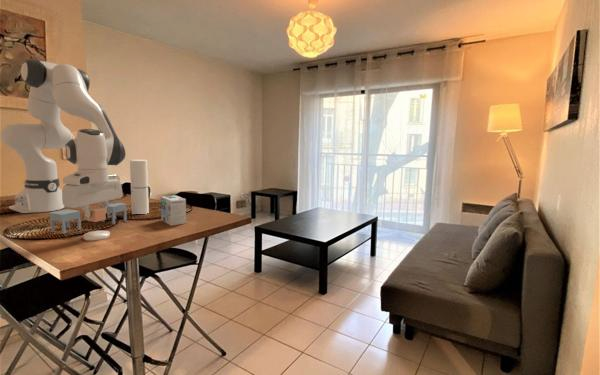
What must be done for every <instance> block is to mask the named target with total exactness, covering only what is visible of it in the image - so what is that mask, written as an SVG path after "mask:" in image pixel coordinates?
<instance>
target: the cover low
mask: <svg viewBox="0 0 600 375" xmlns="http://www.w3.org/2000/svg"><path fill="white" fill-rule="evenodd" d="M74 220H76V221H77V231H78V230H80V229H81V230H82V216H81V211H80V210H75V209H71V208H69V209H68V208H66V209H60V210H55V211H50V212H49V224H50V232H54V233H56V229H55V222H60V223H61V233H62V234H65V233H66V234H67V228H70V229H71V221H74Z"/></svg>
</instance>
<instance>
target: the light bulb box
mask: <svg viewBox="0 0 600 375" xmlns="http://www.w3.org/2000/svg"><path fill="white" fill-rule="evenodd" d="M160 202H161V203H160V204H161V205H160V206H161V208H160V209H161V211H160V212H161V218H160V220H161V221H162V222H164V223H166V224H167V225H169V226H179V225H184V224H187V199H186V198H184V197H181V196H178V195H176V194H173V195H164V196H160Z"/></svg>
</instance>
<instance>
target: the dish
mask: <svg viewBox="0 0 600 375" xmlns="http://www.w3.org/2000/svg"><path fill="white" fill-rule="evenodd" d="M110 236H111V232H110V231H109V230H93V231H92V230H91V231H89V232H86V233H84V234H83V235H82V237H83V240H84V241H87V242H88V241H90V242H91V241H102V240H105V239H108V238H111V237H110Z"/></svg>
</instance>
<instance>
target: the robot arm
mask: <svg viewBox="0 0 600 375" xmlns="http://www.w3.org/2000/svg"><path fill="white" fill-rule="evenodd" d="M20 75H21V78H22V81H23V82H24V84H26V85H27V86H30V88H29V92H28V100H27V104H26V110H27V112H28V113H29V115H30V116H32V117H33V118H35V119H36V120H39V121H40V122H39V123H38V124H37V123H36V124H35V123H13V124H6V125H5V126H4V127H2V129H1V130H0V131H1V132H0V139H1V141H2V142H3V144H4V145H5V146H6V147H8V148H10V149H11V150H13V151H15V152H16V153H17V154H18V156H20V158H21V159H22V162H23V164H24V168H25V174H26V179H25V181H23V184H24V188H23V189H22V190H21V191H20V192H19V193H17V194H16V195H15V197H14V202H15V203H14V204H13V205H9V206H8V209H9V210H11V211H15V212H18V213H21V214H29V213H45V212H46V213H47V212H56V211H60V210H64V208H67V209H68V208H69V209H75V208H79V207H80V208H81V210H82V211H83V212H84V217H85V218H87V217H92V216H93V215H92V214H93V212H90V211H89V209H90V205H93V204H98V203H100V204H101V205H102V207H101V206H100V208H105V212H106V213H107V214H108V212H107V210H106V209H107V207H108V205H109V203H110V201H114V200H120V199H122V197H123V187H122V186H121V184H122V183H121V177H120V176H119V175H117V174H109V166H118V165H119V164H121V163H122V162H123V161H124V160H125V158H126V150H125V146H124V144H123V143H122V141H121V140H120V138H119V137H118V135H117V133H116V130H115V129H114V127H113V125H112V123H111V120H110V118H109V117H108V115H107V113H106V111H105V109H104V108H103V106H102V105H101V104H99V103H98V102H96V101H95V100H94V99H93V98H92V97H91V96H90V94H89V92H88V91H89V89H90V82H91V81H90V77H89V74H88V73H86V72H85V71H84V70H82V69H79V68H77V67H75V66H73V65H72V64H68V63H54V62H49V61H44V60H39V59H35V58H30V59H29V58H28V59H26V60H25V61H23V63H22V65H21V68H20ZM61 110H62V111H63V113H64V112H65V113H67V114H68V115H71V116H74V117H78V118H82V119H84V120H87V121H88V122H90V123H92V124H94V125H95V126H96V127H97V129H94V128H92V129H91V128H83V129H78V130H77V132H76V137H75V138H74V137H73V134H72V132H71V130H70V129H69V128H68V127H66V126H65V125H64V124H63V122H62V118H61ZM63 148H65V157H66V160H67V161H68V162H70V163H71V164H73V165H76V166H77V171H76V172H74V173H71V174H68V175H66V176H64V177H63V178H62V183H63V187H62V188H60V179H59V176H58V165H57V162H56V161H55V160H54V159H53V158H50V157H48V156H45V155H44V154H43V153H42V151H41V150H48V149H49V150H54V149H55V150H58V149H59V150H60V149H63Z"/></svg>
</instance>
